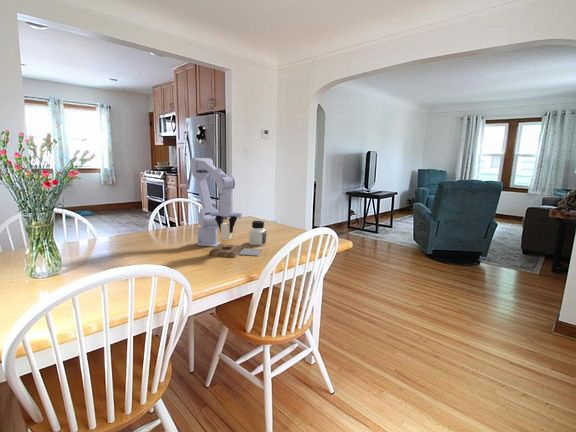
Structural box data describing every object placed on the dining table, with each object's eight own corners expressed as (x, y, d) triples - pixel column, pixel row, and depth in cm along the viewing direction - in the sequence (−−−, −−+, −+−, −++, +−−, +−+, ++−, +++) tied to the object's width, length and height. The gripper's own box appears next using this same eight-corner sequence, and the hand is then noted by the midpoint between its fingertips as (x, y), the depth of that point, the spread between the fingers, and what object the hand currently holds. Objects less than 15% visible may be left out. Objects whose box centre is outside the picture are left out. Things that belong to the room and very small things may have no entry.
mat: (238, 254, 145) (238, 253, 145) (243, 249, 154) (243, 248, 153) (257, 256, 144) (257, 255, 144) (261, 250, 153) (261, 249, 152)
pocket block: (209, 255, 143) (209, 251, 142) (218, 247, 155) (218, 243, 154) (235, 257, 141) (235, 252, 141) (242, 249, 153) (242, 245, 153)
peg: (220, 239, 145) (220, 224, 144) (223, 237, 149) (223, 222, 148) (229, 239, 144) (229, 224, 143) (231, 237, 148) (231, 223, 147)
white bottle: (262, 245, 160) (262, 222, 158) (249, 244, 162) (249, 221, 159) (266, 242, 167) (266, 220, 165) (253, 241, 168) (253, 219, 166)
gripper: (207, 203, 140) (208, 233, 143) (239, 205, 139) (239, 235, 141) (213, 201, 147) (213, 229, 150) (243, 203, 146) (243, 231, 148)
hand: (226, 232), depth 146 cm, fingers closed on peg, 4 cm apart
